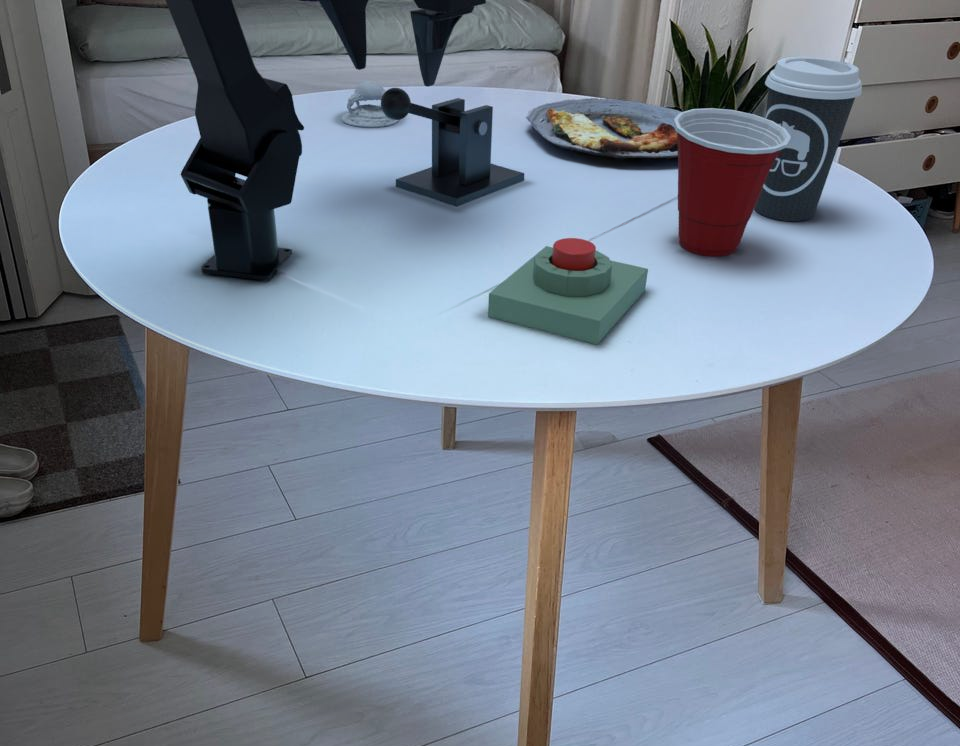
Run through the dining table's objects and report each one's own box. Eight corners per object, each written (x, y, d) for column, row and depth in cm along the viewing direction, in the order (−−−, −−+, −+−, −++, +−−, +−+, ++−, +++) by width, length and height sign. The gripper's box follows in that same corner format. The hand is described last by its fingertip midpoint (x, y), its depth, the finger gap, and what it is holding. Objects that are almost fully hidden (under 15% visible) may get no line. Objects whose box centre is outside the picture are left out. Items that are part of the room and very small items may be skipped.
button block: (597, 345, 74) (602, 300, 72) (487, 317, 78) (489, 272, 75) (645, 291, 83) (651, 249, 81) (544, 267, 86) (547, 226, 84)
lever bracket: (456, 209, 98) (458, 125, 93) (395, 189, 103) (393, 107, 97) (524, 183, 106) (529, 103, 100) (464, 165, 110) (466, 88, 105)
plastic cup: (706, 277, 86) (732, 147, 79) (633, 237, 93) (650, 115, 86) (787, 255, 91) (818, 131, 84) (711, 220, 98) (733, 102, 91)
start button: (584, 277, 76) (586, 257, 75) (544, 268, 78) (546, 248, 77) (599, 262, 79) (602, 243, 78) (561, 253, 80) (563, 234, 79)
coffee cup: (842, 227, 98) (883, 77, 89) (755, 226, 97) (788, 75, 88) (809, 196, 105) (844, 55, 96) (728, 195, 105) (756, 54, 96)
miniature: (392, 129, 121) (391, 90, 119) (335, 125, 122) (332, 86, 119) (404, 113, 128) (403, 76, 125) (349, 109, 128) (347, 72, 126)
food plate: (744, 168, 113) (750, 139, 111) (564, 177, 108) (567, 147, 106) (663, 114, 132) (666, 88, 130) (508, 119, 127) (509, 92, 125)
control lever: (393, 120, 90) (400, 87, 89) (371, 114, 91) (378, 82, 90) (476, 142, 101) (483, 113, 100) (456, 136, 102) (462, 108, 101)
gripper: (526, -110, 81) (519, 77, 90) (373, -125, 90) (382, 47, 99) (444, -100, 74) (446, 102, 83) (288, -117, 83) (305, 66, 93)
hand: (394, 77), depth 90 cm, fingers open, 9 cm apart
